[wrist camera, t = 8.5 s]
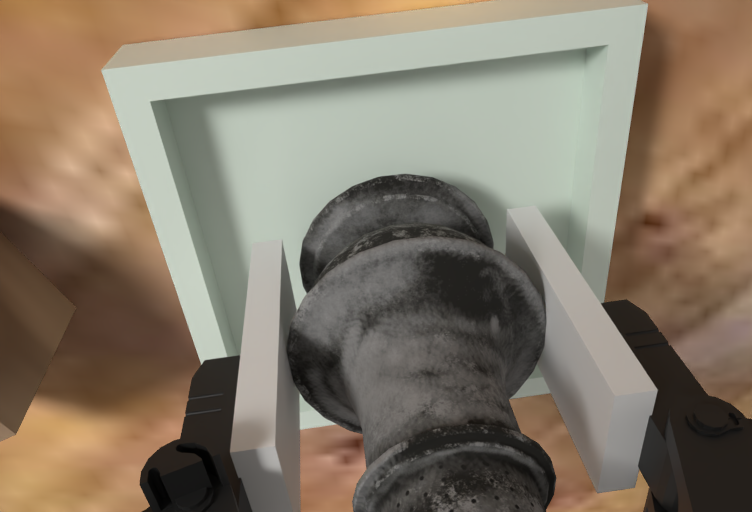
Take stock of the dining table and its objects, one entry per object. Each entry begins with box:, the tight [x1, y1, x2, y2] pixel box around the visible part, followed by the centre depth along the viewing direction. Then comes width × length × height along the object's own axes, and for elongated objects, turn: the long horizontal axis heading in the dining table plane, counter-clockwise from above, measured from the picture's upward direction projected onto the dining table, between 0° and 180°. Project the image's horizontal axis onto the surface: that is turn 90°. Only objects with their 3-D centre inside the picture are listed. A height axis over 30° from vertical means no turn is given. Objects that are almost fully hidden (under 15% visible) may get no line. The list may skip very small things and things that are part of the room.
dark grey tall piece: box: [287, 174, 556, 512], centre depth 12 cm, size 6×6×12 cm
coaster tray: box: [101, 0, 648, 430], centre depth 18 cm, size 12×12×2 cm
